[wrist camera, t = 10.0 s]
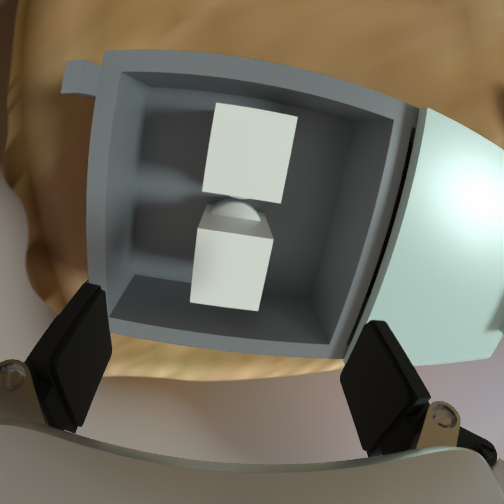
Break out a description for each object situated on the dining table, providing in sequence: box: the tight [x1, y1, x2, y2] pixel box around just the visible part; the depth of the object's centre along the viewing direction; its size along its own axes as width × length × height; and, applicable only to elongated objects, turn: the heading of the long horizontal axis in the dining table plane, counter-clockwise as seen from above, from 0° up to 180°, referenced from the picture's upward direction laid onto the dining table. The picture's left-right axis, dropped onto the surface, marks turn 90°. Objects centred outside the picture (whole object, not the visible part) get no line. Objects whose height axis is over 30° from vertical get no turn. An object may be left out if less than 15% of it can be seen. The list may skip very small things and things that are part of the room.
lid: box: [343, 108, 504, 366], centre depth 15 cm, size 16×16×3 cm
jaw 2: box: [190, 197, 274, 311], centre depth 19 cm, size 5×4×6 cm
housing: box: [61, 50, 419, 359], centre depth 18 cm, size 16×34×9 cm, turn 80°
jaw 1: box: [202, 103, 298, 204], centre depth 17 cm, size 5×4×6 cm
